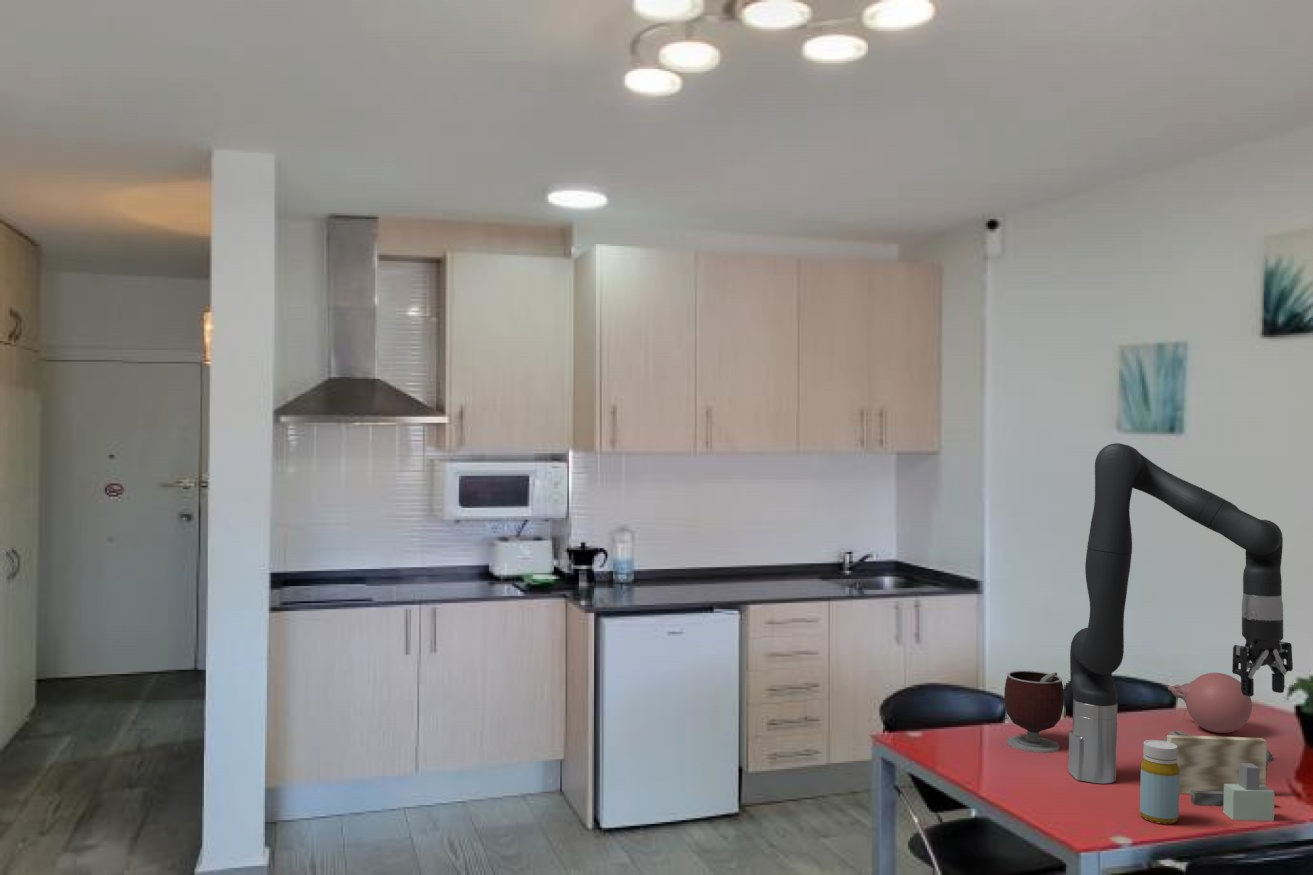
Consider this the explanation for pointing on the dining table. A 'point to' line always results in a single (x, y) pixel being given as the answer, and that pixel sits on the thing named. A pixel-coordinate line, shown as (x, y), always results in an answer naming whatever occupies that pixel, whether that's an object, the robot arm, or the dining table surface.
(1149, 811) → the bottle
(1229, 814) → the cabinet block
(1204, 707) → the balloon
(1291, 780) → the dining table surface
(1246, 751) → the wall board
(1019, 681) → the mate gourd
